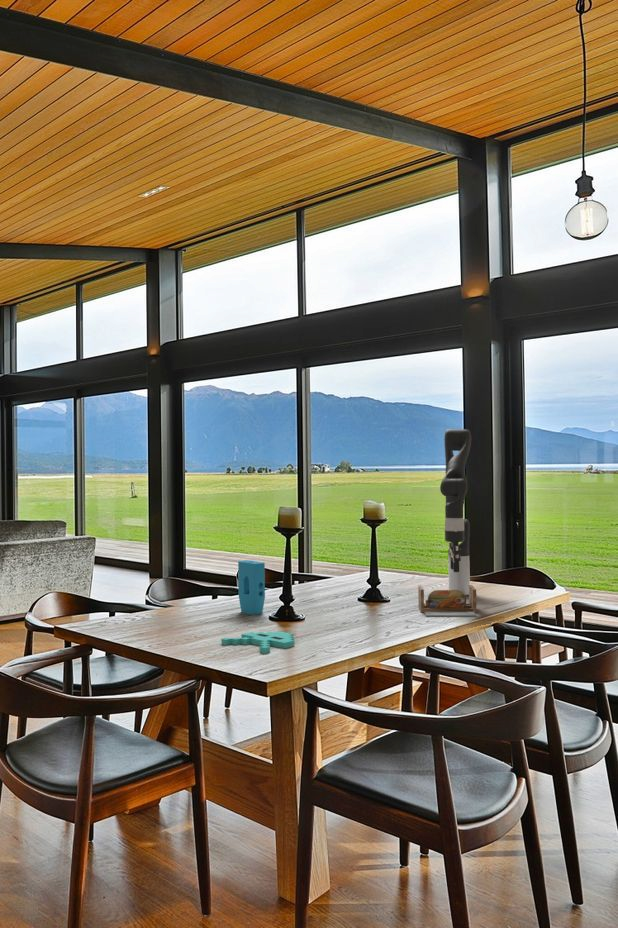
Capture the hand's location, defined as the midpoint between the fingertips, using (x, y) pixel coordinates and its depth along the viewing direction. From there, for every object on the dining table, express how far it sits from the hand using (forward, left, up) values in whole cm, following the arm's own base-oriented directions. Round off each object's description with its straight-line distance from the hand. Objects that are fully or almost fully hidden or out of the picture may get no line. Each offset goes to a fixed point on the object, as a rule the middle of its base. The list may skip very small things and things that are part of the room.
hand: (454, 570), depth 306 cm
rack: (-2, -3, -16) cm, 16 cm away
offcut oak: (-5, -9, -14) cm, 17 cm away
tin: (-1, -3, -16) cm, 17 cm away
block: (+3, -80, -16) cm, 82 cm away
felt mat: (+8, -3, -16) cm, 18 cm away
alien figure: (+55, -69, -17) cm, 90 cm away
